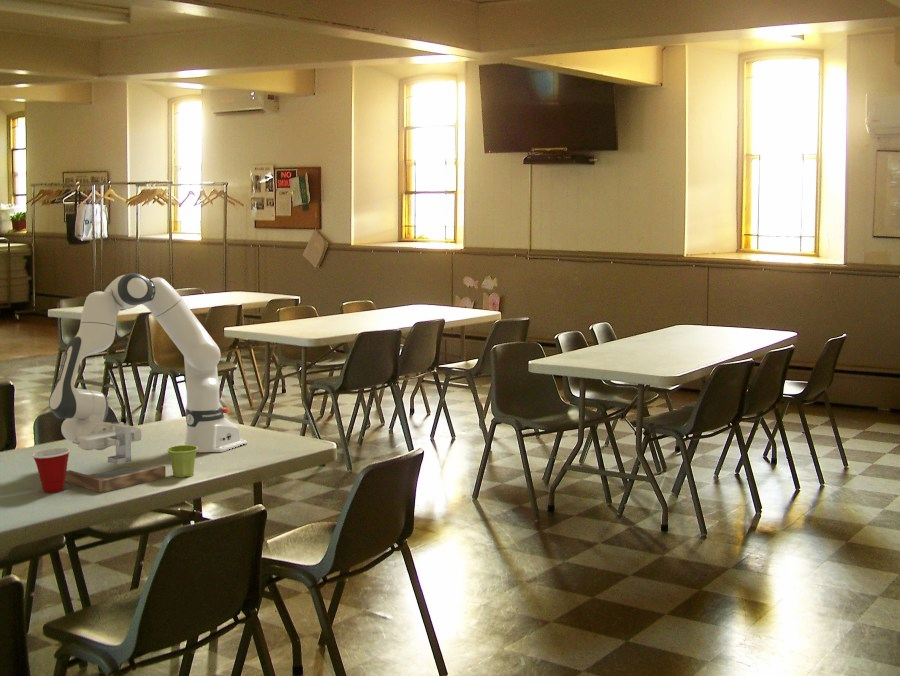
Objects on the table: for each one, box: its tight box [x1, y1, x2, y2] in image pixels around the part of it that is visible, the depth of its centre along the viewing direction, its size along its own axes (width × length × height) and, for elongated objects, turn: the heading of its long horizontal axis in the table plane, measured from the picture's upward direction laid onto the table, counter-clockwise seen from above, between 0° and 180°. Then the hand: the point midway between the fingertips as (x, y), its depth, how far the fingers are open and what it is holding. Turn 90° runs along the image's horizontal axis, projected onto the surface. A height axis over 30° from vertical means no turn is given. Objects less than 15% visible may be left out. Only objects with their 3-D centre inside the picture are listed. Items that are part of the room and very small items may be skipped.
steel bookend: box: [107, 424, 132, 465], centre depth 332 cm, size 5×5×11 cm
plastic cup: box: [31, 447, 71, 494], centre depth 320 cm, size 11×11×12 cm
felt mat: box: [92, 466, 141, 479], centre depth 334 cm, size 20×16×1 cm
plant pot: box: [166, 444, 198, 479], centre depth 338 cm, size 9×9×9 cm
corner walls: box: [65, 465, 167, 493], centre depth 332 cm, size 23×19×4 cm
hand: (124, 442), depth 332 cm, fingers closed on steel bookend
